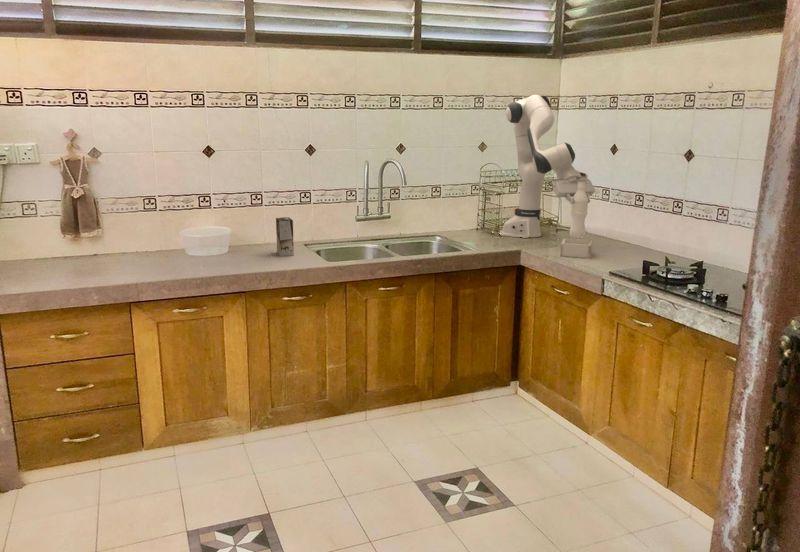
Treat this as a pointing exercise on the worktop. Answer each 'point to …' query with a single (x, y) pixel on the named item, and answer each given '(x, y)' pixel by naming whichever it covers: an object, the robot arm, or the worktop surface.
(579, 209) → the water bottle
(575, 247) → the box
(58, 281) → the worktop surface
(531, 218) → the robot arm
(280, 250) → the coffee box
